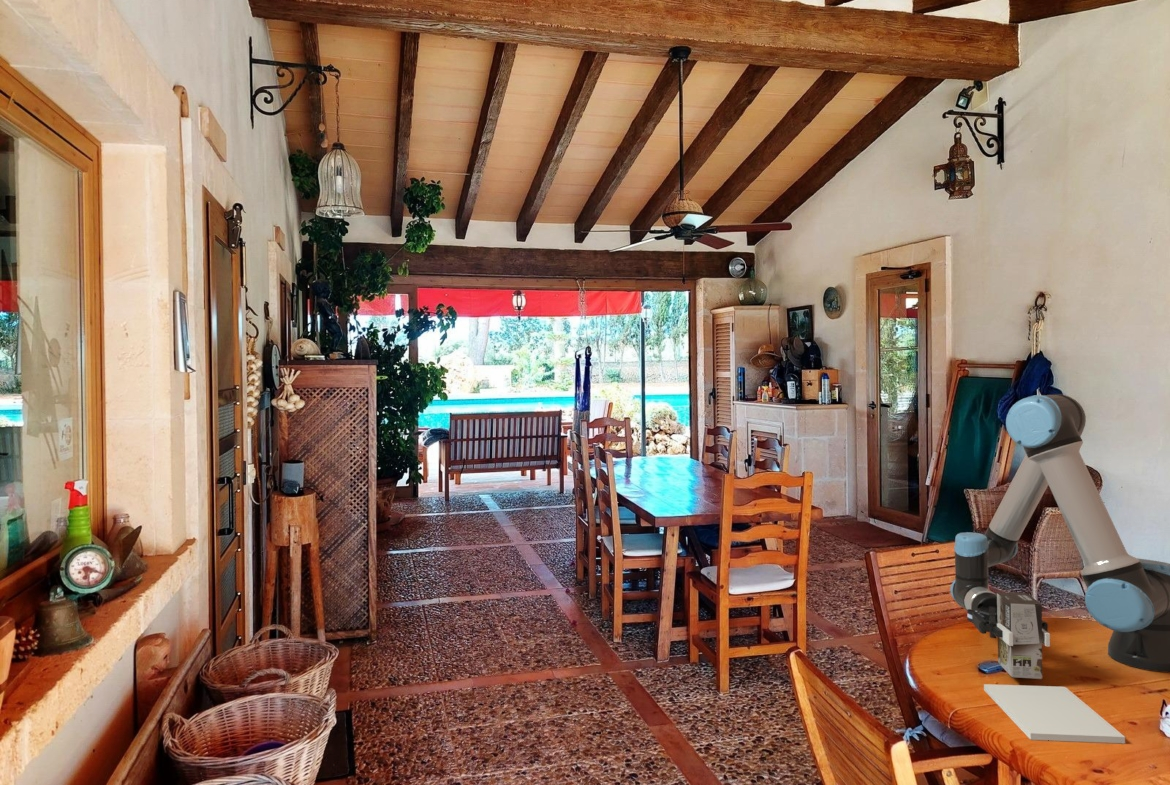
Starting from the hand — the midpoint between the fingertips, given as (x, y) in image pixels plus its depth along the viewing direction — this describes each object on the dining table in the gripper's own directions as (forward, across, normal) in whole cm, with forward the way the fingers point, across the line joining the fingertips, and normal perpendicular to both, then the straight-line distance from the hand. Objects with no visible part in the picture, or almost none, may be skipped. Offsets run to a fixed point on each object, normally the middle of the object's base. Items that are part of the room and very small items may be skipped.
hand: (1029, 639), depth 163 cm
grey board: (+13, +2, -10) cm, 17 cm away
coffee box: (-5, 0, -9) cm, 10 cm away
